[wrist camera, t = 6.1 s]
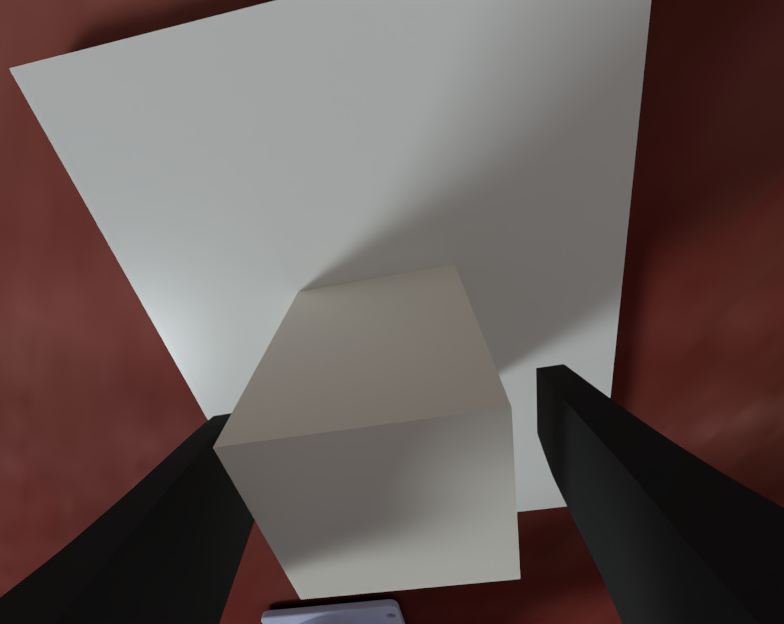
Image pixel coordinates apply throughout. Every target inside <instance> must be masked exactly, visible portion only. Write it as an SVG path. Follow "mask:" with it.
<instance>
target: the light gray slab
mask: <svg viewBox="0 0 784 624" xmlns="http://www.w3.org/2000/svg"><path fill="white" fill-rule="evenodd" d="M650 9H651V0H275V1H271V2H267V3H263V4H259V5H255V6H251V7H247V8H243V9H239V10H235V11H232V12H228V13H224V14H220V15H216V16H212V17H208V18H204V19H200V20H196V21H193V22H189V23H185V24H181V25H177V26H173V27H169V28H165V29H161V30H157V31H154V32H150V33H146V34H142V35H138V36H134V37H130V38H126V39H122V40H118V41H115V42H111V43H107V44H103V45H99V46H95V47H91V48H87V49H83V50H79V51H76V52H72V53H68V54H64V55H60V56H56V57H52V58H48V59H44V60H40V61H37V62H33V63H29V64H25V65H21V66H17V67H13V68H9V69H10V71H11V73H12V75H13V76H14V78H15V80H16V82H17V83H18V85H19V87H20V89H21V91H22V92H23V94H24V96H25V98H26V99H27V101H28V103H29V105H30V106H31V108H32V110H33V112H34V113H35V115H36V117H37V119H38V121H39V122H40V124H41V126H42V128H43V129H44V131H45V133H46V135H47V136H48V138H49V140H50V142H51V144H52V145H53V147H54V149H55V151H56V152H57V154H58V156H59V158H60V159H61V161H62V163H63V165H64V166H65V168H66V170H67V172H68V174H69V175H70V177H71V179H72V181H73V182H74V184H75V186H76V188H77V189H78V191H79V193H80V195H81V197H82V198H83V200H84V202H85V204H86V205H87V207H88V209H89V211H90V212H91V214H92V216H93V218H94V220H95V221H96V223H97V225H98V227H99V228H100V230H101V232H102V234H103V235H104V237H105V239H106V241H107V242H108V244H109V246H110V248H111V250H112V251H113V253H114V255H115V257H116V258H117V260H118V262H119V264H120V265H121V267H122V269H123V271H124V273H125V274H126V276H127V278H128V280H129V281H130V283H131V285H132V287H133V288H134V290H135V292H136V294H137V295H138V297H139V299H140V301H141V303H142V304H143V306H144V308H145V310H146V311H147V313H148V315H149V317H150V318H151V320H152V322H153V324H154V326H155V327H156V329H157V331H158V333H159V334H160V336H161V338H162V340H163V341H164V343H165V345H166V347H167V349H168V350H169V352H170V354H171V356H172V357H173V359H174V361H175V363H176V364H177V366H178V368H179V370H180V371H181V373H182V375H183V377H184V379H185V380H186V382H187V384H188V386H189V387H190V389H191V391H192V393H193V394H194V396H195V398H196V400H197V402H198V403H199V405H200V407H201V409H202V410H203V412H204V414H205V416H206V417H207V419H208V420H209V419H211V418H212V417H213V416H216V415H223V414H230V413H232V412H233V410H234V408H235V406H236V404H237V403H238V401H239V399H240V397H241V395H242V393H243V392H244V390H245V388H246V386H247V384H248V382H249V381H250V379H251V377H252V375H253V373H254V371H255V370H256V368H257V366H258V364H259V362H260V361H261V359H262V357H263V355H264V353H265V351H266V350H267V348H268V346H269V344H270V342H271V340H272V339H273V337H274V335H275V333H276V331H277V329H278V328H279V326H280V324H281V322H282V320H283V318H284V317H285V315H286V313H287V311H288V309H289V307H290V306H291V304H292V302H293V300H294V298H295V297H296V295H297V293H298V292H299V291H305V290H310V289H316V288H322V287H328V286H333V285H339V284H345V283H351V282H356V281H362V280H368V279H374V278H380V277H385V276H391V275H397V274H403V273H408V272H414V271H420V270H426V269H431V268H437V267H443V266H449V265H454V264H455V267H456V269H457V272H458V274H459V277H460V279H461V282H462V284H463V287H464V289H465V292H466V294H467V297H468V299H469V302H470V304H471V307H472V309H473V312H474V314H475V317H476V319H477V322H478V324H479V327H480V329H481V332H482V334H483V337H484V339H485V342H486V344H487V347H488V349H489V352H490V354H491V357H492V359H493V362H494V364H495V367H496V369H497V372H498V374H499V377H500V379H501V382H502V384H503V387H504V389H505V392H506V394H507V397H508V399H509V402H510V404H511V407H512V425H513V444H514V464H515V483H516V502H517V512H521V511H530V510H539V509H548V508H557V507H565V506H567V505H566V503H565V501H564V499H563V497H562V495H561V493H560V491H559V488H558V486H557V484H556V482H555V480H554V478H553V476H552V473H551V471H550V468H549V465H548V462H547V460H546V457H545V454H544V451H543V449H542V446H541V443H540V440H539V437H538V434H537V388H536V368H541V367H548V366H554V365H561V364H564V365H566V366H567V367H568V368H570V369H571V370H573V371H574V372H575V373H577V374H578V375H579V376H581V377H582V378H583V379H585V380H586V381H587V382H589V383H590V384H591V385H593V386H594V387H595V388H597V389H598V390H599V391H601V392H602V393H604V394H605V395H606V396H608V397H609V398H610V397H611V388H612V378H613V368H614V358H615V349H616V339H617V329H618V320H619V310H620V300H621V291H622V281H623V271H624V261H625V252H626V242H627V232H628V223H629V213H630V203H631V194H632V184H633V174H634V164H635V155H636V145H637V135H638V126H639V116H640V106H641V96H642V87H643V77H644V67H645V58H646V48H647V38H648V29H649V19H650Z"/></svg>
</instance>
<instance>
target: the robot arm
mask: <svg viewBox="0 0 784 624" xmlns="http://www.w3.org/2000/svg"><path fill="white" fill-rule="evenodd" d="M536 388H537V434H538V437H539V440H540V443H541V446H542V449H543V451H544V454H545V457H546V460H547V462H548V465H549V468H550V471H551V473H552V476H553V478H554V480H555V482H556V484H557V486H558V488H559V491H560V493H561V495H562V497H563V499H564V501H565V503H566V505H567V507H568V509H569V511H570V513H571V515H572V517H573V519H574V521H575V523H576V525H577V527H578V529H579V531H580V533H581V535H582V537H583V540H584V542H585V544H586V546H587V548H588V550H589V552H590V554H591V556H592V558H593V560H594V562H595V564H596V566H597V568H598V570H599V572H600V574H601V576H602V578H603V580H604V582H605V584H606V587H607V589H608V591H609V593H610V595H611V598H612V600H613V602H614V604H615V607H616V609H617V611H618V614H619V616H620V619H621V621H622V624H784V508H783V507H781V506H779V505H777V504H776V503H774V502H772V501H770V500H769V499H767V498H765V497H763V496H761V495H760V494H758V493H756V492H754V491H752V490H751V489H749V488H747V487H745V486H744V485H742V484H740V483H738V482H737V481H735V480H733V479H732V478H730V477H728V476H727V475H725V474H723V473H722V472H720V471H718V470H717V469H715V468H713V467H712V466H710V465H709V464H707V463H705V462H704V461H702V460H701V459H699V458H697V457H696V456H694V455H693V454H691V453H689V452H688V451H686V450H685V449H683V448H682V447H680V446H678V445H677V444H675V443H674V442H672V441H671V440H669V439H668V438H666V437H665V436H663V435H662V434H660V433H659V432H657V431H656V430H654V429H653V428H651V427H650V426H649V425H647V424H646V423H644V422H643V421H641V420H640V419H638V418H637V417H636V416H634V415H633V414H631V413H630V412H628V411H627V410H626V409H624V408H623V407H621V406H620V405H619V404H617V403H616V402H614V401H613V400H612V399H610V398H609V397H608V396H606V395H605V394H604V393H602V392H601V391H599V390H598V389H597V388H595V387H594V386H593V385H591V384H590V383H589V382H587V381H586V380H585V379H583V378H582V377H581V376H579V375H578V374H577V373H575V372H574V371H573V370H571V369H570V368H568V367H567V366H566V365H564V364H561V365H554V366H548V367H541V368H536ZM231 414H232V413H230V414H223V415H216V416H213V417H212V418H211V419H209V420H208V421H207V422H206V423H204V424H203V425H202V426H201V427H200V428H199V429H197V430H196V431H195V432H194V433H193V434H192V435H191V436H190V437H188V438H187V439H186V440H185V441H184V442H183V443H182V444H181V445H180V446H179V447H177V448H176V449H175V450H174V451H173V452H172V453H171V454H170V455H169V456H168V457H167V458H166V459H164V460H163V461H162V462H161V463H160V464H159V465H158V466H157V467H156V468H155V469H153V470H152V471H151V472H150V473H149V474H148V475H147V476H146V477H145V478H144V479H143V480H141V481H140V482H139V483H138V484H137V485H136V486H135V487H134V488H133V489H132V490H130V491H129V492H128V493H127V494H126V495H125V496H124V497H123V498H121V499H120V500H119V501H118V502H117V503H116V504H114V505H113V506H112V507H111V508H110V509H109V510H108V511H106V512H105V513H104V514H103V515H102V516H101V517H99V518H98V519H97V520H96V521H95V522H94V523H93V524H91V525H90V526H89V527H88V528H87V529H86V530H84V531H83V532H82V533H81V534H80V535H79V536H78V537H76V538H75V539H74V540H73V541H72V542H70V543H69V544H68V545H67V546H65V547H64V548H63V549H62V550H61V551H59V552H58V553H57V554H56V555H54V556H53V557H52V558H51V559H49V560H48V561H47V562H46V563H44V564H43V565H42V566H41V567H39V568H38V569H37V570H36V571H34V572H33V573H32V574H30V575H29V576H28V577H26V578H25V579H24V580H23V581H21V582H20V583H19V584H17V585H16V586H15V587H14V588H12V589H11V590H10V591H8V592H7V593H6V594H4V595H3V596H2V597H0V624H219V622H220V619H221V616H222V613H223V610H224V607H225V605H226V602H227V599H228V596H229V593H230V590H231V587H232V584H233V581H234V578H235V576H236V573H237V570H238V567H239V564H240V561H241V558H242V555H243V552H244V550H245V547H246V544H247V541H248V538H249V535H250V532H251V529H252V526H253V523H254V520H255V519H254V518H253V516H252V514H251V513H250V511H249V509H248V507H247V506H246V504H245V502H244V500H243V499H242V497H241V495H240V494H239V492H238V490H237V488H236V487H235V485H234V483H233V481H232V480H231V478H230V476H229V475H228V473H227V471H226V469H225V468H224V466H223V464H222V462H221V461H220V459H219V457H218V456H217V454H216V452H215V450H214V449H213V446H214V445H215V443H216V441H217V439H218V437H219V435H220V434H221V432H222V430H223V428H224V426H225V425H226V423H227V421H228V419H229V417H230V415H231ZM261 622H262V623H263V624H405V622H404V619H403V616H402V613H401V610H400V608H399V605H398V603H397V602H396V601H395V600H392V599H384V600H373V601H362V602H352V603H341V604H330V605H320V606H309V607H298V608H288V609H277V610H268V611H265V612H264V613H263V615H262V619H261Z"/></svg>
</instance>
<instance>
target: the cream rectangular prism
mask: <svg viewBox="0 0 784 624" xmlns="http://www.w3.org/2000/svg"><path fill="white" fill-rule="evenodd" d="M213 449H214V450H215V452H216V454H217V456H218V457H219V459H220V461H221V462H222V464H223V466H224V468H225V469H226V471H227V473H228V475H229V476H230V478H231V480H232V481H233V483H234V485H235V487H236V488H237V490H238V492H239V494H240V495H241V497H242V499H243V500H244V502H245V504H246V506H247V507H248V509H249V511H250V513H251V514H252V516H253V518H254V519H255V521H256V523H257V525H258V526H259V528H260V530H261V532H262V533H263V535H264V537H265V538H266V540H267V542H268V544H269V545H270V547H271V549H272V551H273V552H274V554H275V556H276V557H277V559H278V561H279V563H280V564H281V566H282V568H283V570H284V571H285V573H286V575H287V576H288V578H289V580H290V582H291V583H292V585H293V587H294V589H295V590H296V592H297V594H298V595H299V597H300V599H301V600H302V599H312V598H323V597H334V596H344V595H355V594H366V593H376V592H387V591H398V590H409V589H419V588H430V587H441V586H451V585H462V584H473V583H483V582H494V581H505V580H515V579H520V560H519V541H518V522H517V502H516V483H515V464H514V444H513V425H512V407H511V404H510V402H509V399H508V397H507V394H506V392H505V389H504V387H503V384H502V382H501V379H500V377H499V374H498V372H497V369H496V367H495V364H494V362H493V359H492V357H491V354H490V352H489V349H488V347H487V344H486V342H485V339H484V337H483V334H482V332H481V329H480V327H479V324H478V322H477V319H476V317H475V314H474V312H473V309H472V307H471V304H470V302H469V299H468V297H467V294H466V292H465V289H464V287H463V284H462V282H461V279H460V277H459V274H458V272H457V269H456V267H455V264H454V265H449V266H443V267H437V268H431V269H426V270H420V271H414V272H408V273H403V274H397V275H391V276H385V277H380V278H374V279H368V280H362V281H356V282H351V283H345V284H339V285H333V286H328V287H322V288H316V289H310V290H305V291H299V292H298V293H297V295H296V297H295V298H294V300H293V302H292V304H291V306H290V307H289V309H288V311H287V313H286V315H285V317H284V318H283V320H282V322H281V324H280V326H279V328H278V329H277V331H276V333H275V335H274V337H273V339H272V340H271V342H270V344H269V346H268V348H267V350H266V351H265V353H264V355H263V357H262V359H261V361H260V362H259V364H258V366H257V368H256V370H255V371H254V373H253V375H252V377H251V379H250V381H249V382H248V384H247V386H246V388H245V390H244V392H243V393H242V395H241V397H240V399H239V401H238V403H237V404H236V406H235V408H234V410H233V412H232V414H231V415H230V417H229V419H228V421H227V423H226V425H225V426H224V428H223V430H222V432H221V434H220V435H219V437H218V439H217V441H216V443H215V445H214V446H213Z"/></svg>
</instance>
